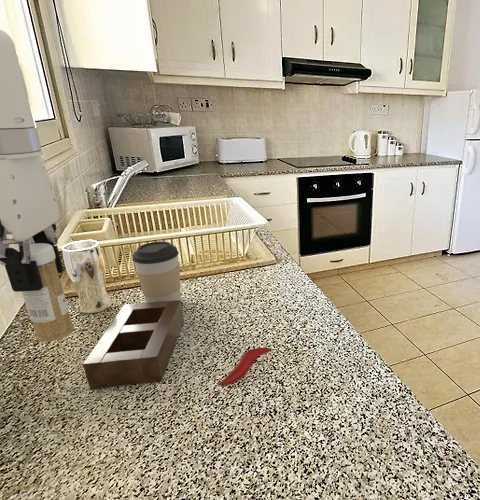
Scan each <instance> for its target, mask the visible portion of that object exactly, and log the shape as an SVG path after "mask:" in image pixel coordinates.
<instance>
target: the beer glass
mask: <svg viewBox="0 0 480 500" xmlns="http://www.w3.org/2000/svg"><path fill="white" fill-rule="evenodd" d="M61 251H62V258H63V263H64V268H65V270H66V274H67V276H68V277H69V280H70V281H71V284H72V285H73V288H74V289H75V291H76V293H77V296H78V299H79V300H78V301H79V311H80V313H83V314H86V315H87V314H90V315H91V314H97V313H100V312H103V311H106V310H107V309H109V308H110V307H111V306H112V304H113V302H112V299H111V298H110V296H109V293H108V290H107V282H106V281H107V280H106V279H107V277H106V275H107V274H106V263H105V259H104V255H103V252H102V249H101V246H100V243H99V241H97V240H93V239H86V240H84V239H83V240H77V241H73V242H69V243H67V244H64V245H63V246H62V247H61Z"/></svg>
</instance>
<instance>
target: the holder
mask: <svg viewBox="0 0 480 500" xmlns="http://www.w3.org/2000/svg"><path fill="white" fill-rule="evenodd" d="M184 321H185V318H184V311H183V305H182V299H181V300H176V301H162V302H149V303H147V302H137V303H127V304H123V306H122V307H121V308H120V310H119V312H117V314H116V316H115V317H114V319H113V320H112V322H111V323H110V324H109V325H108V327H107V329H106V330H105V332H104V333H103V335H102V336H101V337H100V339H99V340H98V341H97V343H96V345H95V346H94V348H93V349H92V350H91V351H90V353H89V354H88V356H87V358H86V359H85V361H84V362H83V364H82V366H83V370H84V373H85V376H86V380H87V383H88V388H89V390H95V389H105V388H112V387H114V388H115V387H121V386H131V385H139V384H146V383H147V384H148V383H155V382H162V381H163V380H164V376H165V373H166V371H167V368H168V365H169V362H170V360H171V358H172V357H171V356H172V355H173V351H174V350H175V346H176V343H177V342H178V338H179V335H180V332H181V330H182V328H183V324H184Z"/></svg>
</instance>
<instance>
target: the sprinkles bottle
mask: <svg viewBox="0 0 480 500" xmlns="http://www.w3.org/2000/svg"><path fill="white" fill-rule="evenodd" d="M29 245H30V253H31V261H36V263H37V267H38V270H39V273H40V277H41V280H42V284H43V288H42V289H41V290H39V291H21V295H22V298H23V301H24V304H25V307H26V310H27V314H28V316H29V319H30V321H31V322H32V326H33V329H34V332H35V339H36V340H37V341H38V342H44V343H47V342H55V341H59V340H62V339H64V338H66V337H68V336H70V335H71V334H72V333H73V332H74V330H75V325H74V324H73V321H72V318H71V315H70V310H69V305H68V302H67V299H66V295H65V291H64V287H63V284H62V281H61V278H60V276H59V275H60V274H59V273H58V271H57V267H56V264H55V258H56V256H55V253H54V249H53V247H52V245H50V244H45V243H36V244H31V243H29ZM13 248H14V249H16V250H17V251H19V246H17V247H13Z"/></svg>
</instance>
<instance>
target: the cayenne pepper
mask: <svg viewBox="0 0 480 500" xmlns="http://www.w3.org/2000/svg"><path fill="white" fill-rule="evenodd" d="M270 351H272V349H271V348H269V347H255V348H251V349H249V350H247V351H246V352H244V353H243V354H242V356H241V357H240V360H239V361H238V363H237V364H236V365H235V367H234V368H233V369H232V370H231V371H230V372H229V373H228V374H227V376H226V377H225V378H224V379H223V380H222V381H220V382H218V384H217V385H218V386H226V385H230V384H233V383H236V382H237V381H239V380H240V379H242V378H243V377H244V376H245V375H246V374H247V373H248V372H249V370H250V368H251V366H252V364H253V363H254V361H255V360H256V359H258V357H259V356H261V355H262V354H264V353H265V354H266V353H268V352H270Z"/></svg>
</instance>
